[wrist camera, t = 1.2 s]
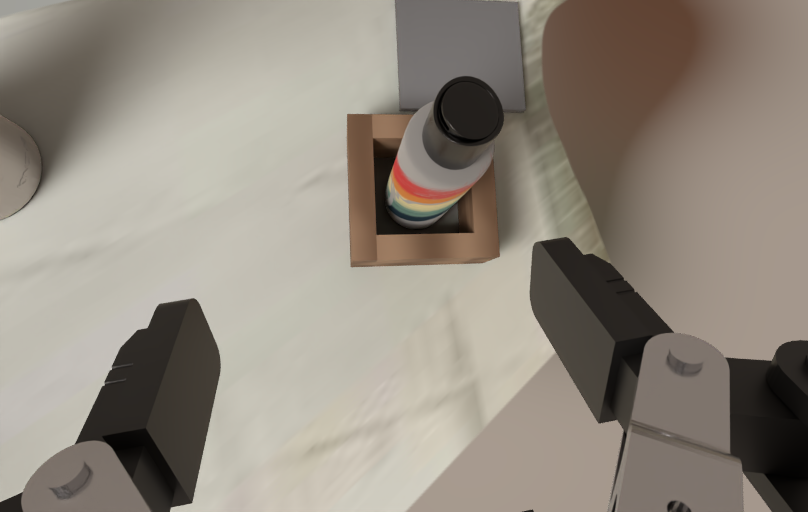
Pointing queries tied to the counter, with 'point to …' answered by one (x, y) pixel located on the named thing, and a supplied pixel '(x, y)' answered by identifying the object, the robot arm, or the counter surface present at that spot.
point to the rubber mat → (458, 49)
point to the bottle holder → (368, 249)
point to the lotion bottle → (443, 152)
